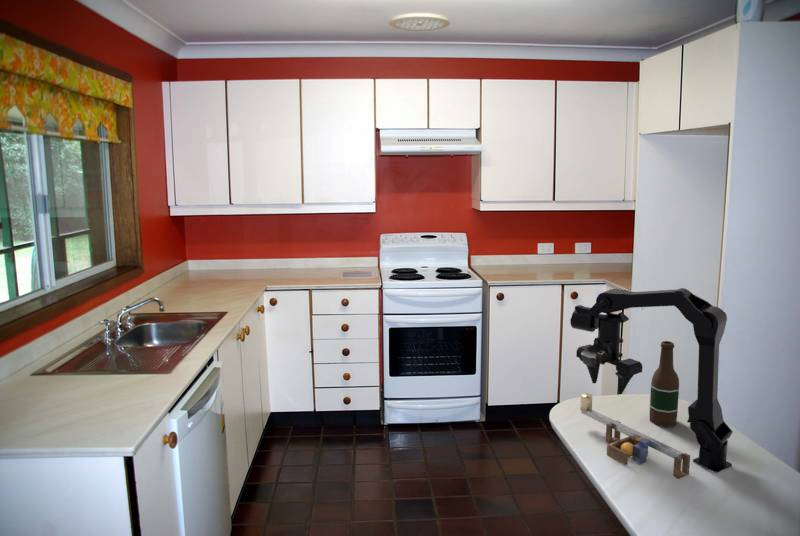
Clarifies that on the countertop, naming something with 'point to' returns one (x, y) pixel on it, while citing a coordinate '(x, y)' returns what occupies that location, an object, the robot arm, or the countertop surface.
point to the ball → (627, 448)
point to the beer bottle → (664, 389)
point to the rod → (628, 433)
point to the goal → (616, 451)
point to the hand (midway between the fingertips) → (606, 388)
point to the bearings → (677, 461)
